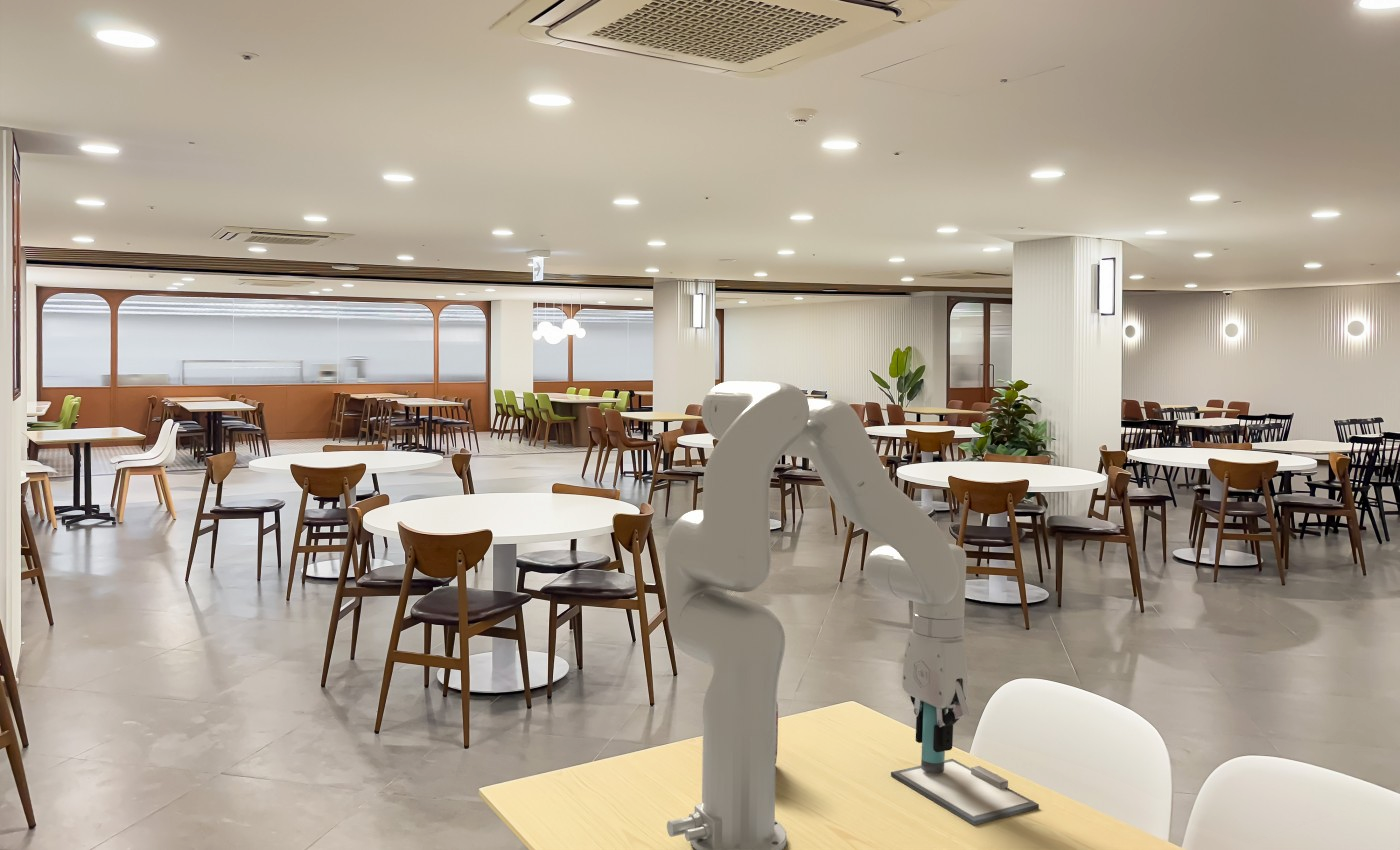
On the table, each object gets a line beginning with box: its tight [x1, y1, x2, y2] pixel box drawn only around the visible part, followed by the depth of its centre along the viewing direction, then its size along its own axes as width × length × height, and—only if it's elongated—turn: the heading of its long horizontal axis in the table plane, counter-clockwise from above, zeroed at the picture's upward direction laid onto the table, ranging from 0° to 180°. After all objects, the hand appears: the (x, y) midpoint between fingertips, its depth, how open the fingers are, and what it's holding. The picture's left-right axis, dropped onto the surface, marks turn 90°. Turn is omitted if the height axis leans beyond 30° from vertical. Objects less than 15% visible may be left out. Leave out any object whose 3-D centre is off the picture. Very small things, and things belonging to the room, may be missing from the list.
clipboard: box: [890, 758, 1040, 826], centre depth 144 cm, size 12×18×2 cm, turn 27°
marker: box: [920, 702, 948, 773], centre depth 149 cm, size 4×4×12 cm
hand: (933, 744), depth 149 cm, fingers closed on marker, 3 cm apart
